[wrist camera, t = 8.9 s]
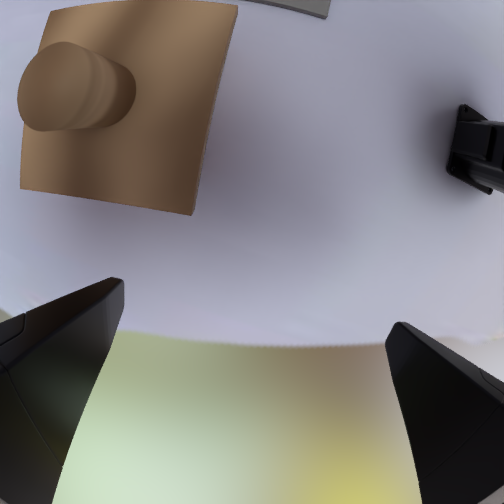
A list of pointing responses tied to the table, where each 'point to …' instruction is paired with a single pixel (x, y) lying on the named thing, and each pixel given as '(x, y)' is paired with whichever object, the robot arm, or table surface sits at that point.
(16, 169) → the table surface
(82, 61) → the lid
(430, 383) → the robot arm
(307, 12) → the mat
